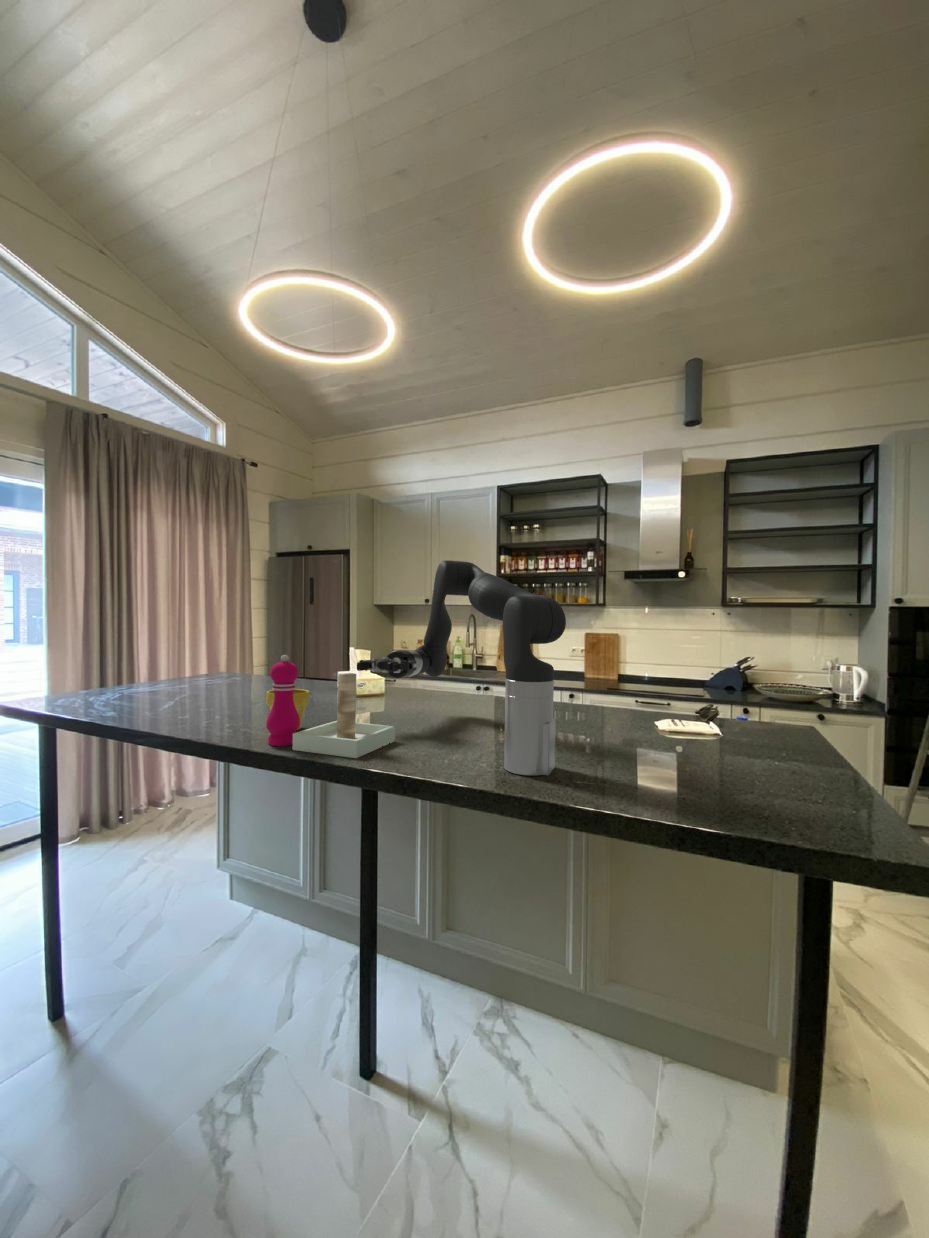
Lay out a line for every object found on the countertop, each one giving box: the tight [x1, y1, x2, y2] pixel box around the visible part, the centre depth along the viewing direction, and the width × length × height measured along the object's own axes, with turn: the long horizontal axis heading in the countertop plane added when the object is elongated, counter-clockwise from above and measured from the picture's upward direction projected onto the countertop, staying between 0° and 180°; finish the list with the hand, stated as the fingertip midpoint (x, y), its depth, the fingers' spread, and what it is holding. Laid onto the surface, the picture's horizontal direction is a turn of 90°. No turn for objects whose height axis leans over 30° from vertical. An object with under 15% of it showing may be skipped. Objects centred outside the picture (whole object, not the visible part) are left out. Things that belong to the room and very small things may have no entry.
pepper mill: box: [265, 654, 300, 747], centre depth 113 cm, size 7×7×20 cm
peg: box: [336, 672, 357, 739], centre depth 111 cm, size 4×4×16 cm
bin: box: [292, 720, 396, 759], centre depth 111 cm, size 16×16×4 cm
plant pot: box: [265, 688, 310, 731], centre depth 127 cm, size 10×10×10 cm
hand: (373, 666), depth 121 cm, fingers open, 8 cm apart
